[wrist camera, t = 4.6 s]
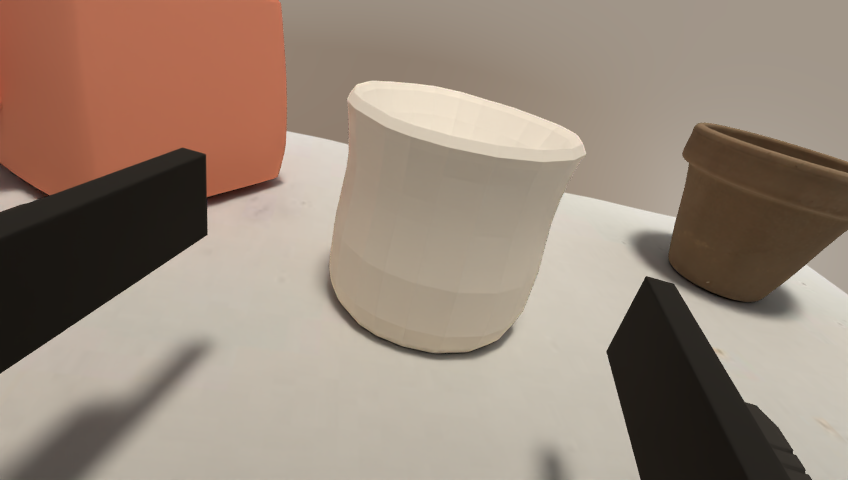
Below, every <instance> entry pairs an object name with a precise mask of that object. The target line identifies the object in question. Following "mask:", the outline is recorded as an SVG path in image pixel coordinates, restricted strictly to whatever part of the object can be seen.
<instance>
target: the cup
mask: <svg viewBox="0 0 848 480" xmlns="http://www.w3.org/2000/svg"><path fill="white" fill-rule="evenodd" d="M347 104H348V126H349V128H348V130H349V154H348V162H347V168H346V172H345V177H344V181H343V186H342V190H341V195H340V199H339V203H338V207H337V212H336V217H335V223H334V231H333V238H332V246H331V254H330V262H329V270H330V277H331V283H332V286H333V288H334V290H335V293H336V295H337V298H338V299H339V301H340V303H341V304H342V305H343V307H344V308H345V309H346V310H347V311H348V312H349V313H350V315H351V316H352V317H353V318H354V319H355V320H356V321H357V323H358V324H359V325H361V326H362V327H364V328H365V329H367V330H368V331H370V332H371V333H373V334H374V335H376V336H378V337H381V338H383V339H386V340H388V341H390V342H393V343H395V344H398V345H400V346H403V347H408V348H412V349H417V350H421V351H426V352H430V353H459V352H470V351H472V350H475V349H477V348H480V347H483V346H485V345H488V344H490V343H492V342H495V341H497V340H499V339H500V338H501V336H502V335H503V334H504V333H505V332H506V331H507V330H508V329H509V328H510V327H511V325H512V324H513V323H514V322H515V321H516V319H517V318H518V317H519V316H520V314H521V313H522V312H523V310H524V308H525V305H526V303H527V300H528V297H529V295H530V292H531V290H532V287H533V285H534V282H535V279H536V277H537V274H538V272H539V268H540V264H541V260H542V256H543V252H544V249H545V245H546V241H547V238H548V234H549V230H550V227H551V223H552V220H553V218H554V215H555V212H556V210H557V207H558V205H559V202H560V200H561V198H562V195H563V193H564V191H565V189H566V187H567V185H568V183H569V181H570V179H571V177H572V175H573V173H574V172H575V170H576V168H577V167H578V165H579V163H580V162H581V160H582V159H583V158H584V156H585V155H586V151H585V148H584V145H583V143H582V141H581V140H580V138H579V137H578V135H577V134H575V133H573V132H572V131H570V130H568V129H566V128H564V127H562V126H560V125H558V124H555V123H553V122H550V121H548V120H545V119H543V118H540V117H538V116H535V115H532V114H530V113H527V112H524V111H521V110H519V109H516V108H513V107H510V106H506V105H503V104H500V103H496V102H493V101H489V100H486V99H483V98H479V97H476V96H473V95H470V94H466V93H463V92H459V91H455V90H450V89H446V88H441V87H437V86H430V85H422V84H413V83H402V82H388V81H368V82H364V83H360V84H357V85H356V86H355V87H354V89H352V91H351V92H350V94H349V96H348V98H347Z"/></svg>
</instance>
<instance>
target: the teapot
mask: <svg viewBox="0 0 848 480" xmlns="http://www.w3.org/2000/svg"><path fill="white" fill-rule="evenodd" d="M285 65H286V64H285V50H284V35H283V22H282V10H281V3H280V2H279V0H0V163H1V164H2V165H3V166H5V167H6V168H7V169H9V170H10V171H11V172H13V173H14V174H15V175H17V176H18V177H20V178H21V179H23V180H24V181H26V182H28V183H29V184H31V185H33V186H34V187H36V188H38V189H39V190H41V191H43V192H45V193H46V194H48V195H53V194H55V193H58V192H61V191H64V190H66V189H69V188H72V187H75V186H77V185H80V184H83V183H86V182H88V181H91V180H94V179H97V178H100V177H102V176H105V175H108V174H111V173H113V172H116V171H119V170H122V169H124V168H127V167H130V166H133V165H135V164H138V163H141V162H144V161H147V160H149V159H152V158H155V157H158V156H160V155H163V154H166V153H169V152H171V151H174V150H177V149H180V148H186V149H190V150H193V151H197V152H200V153H204V154H206V179H207V197H209V196H213V195H216V194H220V193H224V192H228V191H231V190H235V189H239V188H242V187H246V186H250V185H254V184H257V183H261V182H264V181H267V180H271V179H274V178H276V177H278V174H279V171H280V168H281V164H282V160H283V156H284V152H285V145H286V125H287V91H286V90H287V88H286V66H285Z"/></svg>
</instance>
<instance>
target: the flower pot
mask: <svg viewBox="0 0 848 480" xmlns="http://www.w3.org/2000/svg"><path fill="white" fill-rule="evenodd" d="M682 154H683V157H684V159H685V160H686V161H687V162H689V167H688V173H687V178H686V184H685V188H684V192H683V196H682V199H681V203H680V207H679V211H678V214H677V218H676V222H675V226H674V230H673V235H672V239H671V244H670V249H669V254H668V258H669V261H670V263H671V265H672V266H673V267H674V268H675V270H676V271H677V272H678V273H680V274H681V275H682V276H683V277H685V278H686V279H688V280H689V281H691V282H692V283H694V284H696V285H698V286H699V287H701V288H704V289H706V290H708V291H710V292H712V293H715V294H717V295H720V296H723V297H726V298H729V299H733V300H737V301H744V302H755V301H759V300H761V299H762V298H764V297H765V296H767V295H768V294H769V293H771V292H772V291H773V290H775V289H776V288H777V287H779V286H780V285H781V284H783V283H784V282H785V281H786V280H788V279H789V278H790V277H791V276H793V275H794V274H795V273H796V272H798V271H799V270H800V269H801V268H802V267H803V266H805V265H806V264H807V263H808V262H809V261H810V260H812V259H813V258H814V257H815V256H816V255H817V254H819V253H820V252H821V251H822V250H823V249H824V248H826V247H827V246H828V245H829V244H831V243H832V242H833V241H834V240H835V239H837V238H838V237H839V236H840V235H842V234H843V233H844V232H846V231H847V230H848V162H846V161H843V160H841V159H837V158H834V157H832V156H828V155H825V154H822V153H819V152H816V151H813V150H810V149H806V148H803V147H800V146H797V145H793V144H790V143H787V142H783V141H780V140H777V139H773V138H769V137H765V136H762V135H759V134H755V133H751V132H747V131H743V130H739V129H735V128H730V127H726V126H722V125H717V124H711V123H698V124H697V125H696V126H695V127H694V129H693V132H692V134H691V136H690V138H689V140H688V142H687V144H686V146H685V148H684V151H683V153H682Z"/></svg>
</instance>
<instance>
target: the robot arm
mask: <svg viewBox="0 0 848 480" xmlns="http://www.w3.org/2000/svg"><path fill="white" fill-rule="evenodd" d="M206 235H207V179H206V154H204V153H200V152H197V151H193V150H190V149H186V148H180V149H177V150H174V151H171V152H169V153H166V154H163V155H160V156H158V157H155V158H152V159H149V160H147V161H144V162H141V163H138V164H135V165H133V166H130V167H127V168H124V169H122V170H119V171H116V172H113V173H111V174H108V175H105V176H102V177H100V178H97V179H94V180H91V181H88V182H86V183H83V184H80V185H77V186H75V187H72V188H69V189H66V190H64V191H61V192H58V193H55V194H53V195H50V196H47V197H44V198H42V199H39V200H36V201H33V202H30V203H27V204H22V205H19V206H16V207H13V208H10V209H8V210H5V211H2V212H0V373H2V372H3V371H5V370H6V369H8V368H9V367H11V366H12V365H14V364H15V363H17V362H18V361H20V360H21V359H23V358H24V357H26V356H27V355H29V354H30V353H32V352H33V351H35V350H36V349H38V348H39V347H41V346H42V345H44V344H45V343H47V342H48V341H50V340H51V339H53V338H54V337H56V336H57V335H59V334H60V333H61V332H63V331H64V330H66V329H67V328H69V327H70V326H72V325H73V324H75V323H76V322H78V321H79V320H81V319H82V318H84V317H85V316H87V315H88V314H90V313H91V312H93V311H94V310H96V309H97V308H99V307H100V306H102V305H103V304H105V303H106V302H108V301H109V300H111V299H112V298H114V297H115V296H117V295H118V294H120V293H121V292H123V291H124V290H126V289H127V288H129V287H130V286H132V285H133V284H135V283H136V282H138V281H139V280H141V279H142V278H144V277H145V276H147V275H148V274H150V273H151V272H152V271H154V270H155V269H157V268H158V267H160V266H161V265H163V264H164V263H166V262H167V261H169V260H170V259H172V258H173V257H175V256H176V255H178V254H179V253H181V252H182V251H184V250H185V249H187V248H188V247H190V246H191V245H193V244H194V243H196V242H197V241H199V240H200V239H202V238H203V237H205V236H206ZM607 355H608V359H609V363H610V366H611V370H612V374H613V378H614V381H615V385H616V389H617V392H618V396H619V400H620V404H621V407H622V411H623V415H624V419H625V422H626V426H627V430H628V434H629V437H630V441H631V445H632V449H633V452H634V456H635V460H636V464H637V467H638V471H639V475H640V479H641V480H812V479H811V477H810V476H809V475H807V474H805V468H804V467H803V465H802V463H801V462H800V460H799V459H798V457H797V456H796V455H794V454H793V449H792V448H791V446H790V445H789V443H788V442H787V440H786V439H785V437H784V435H783V434H782V432H781V431H780V429H779V428H778V427H777V426H776V425H775V424H774V423H773V422H772V421H771V420H770V419H769V418H768V417H767V416H766V415H765V414H764V413H763V412H762V411H761V410H760V409H759V408H758V407H757V406H756V405H753V404H749V403H746V402H744V400H743V399H742V397H741V395H740V394H739V392H738V390H737V389H736V387H735V385H734V384H733V382H732V380H731V379H730V377H729V375H728V374H727V372H726V370H725V369H724V367H723V365H722V364H721V362H720V360H719V359H718V357H717V355H716V354H715V352H714V350H713V348H712V347H711V345H710V343H709V342H708V340H707V338H706V337H705V335H704V333H703V332H702V330H701V328H700V327H699V325H698V323H697V322H696V320H695V318H694V317H693V315H692V313H691V312H690V310H689V308H688V307H687V305H686V303H685V302H684V300H683V298H682V297H681V295H680V293H679V292H678V290H677V288H676V287H675V285H674V284H672V283H669V282H665V281H661V280H658V279H654V278H651V277H647V276H646V277H645V279H644V281H643V283H642V285H641V287H640V289H639V291H638V292H637V294H636V296H635V298H634V300H633V302H632V304H631V306H630V308H629V310H628V311H627V313H626V315H625V317H624V319H623V321H622V323H621V325H620V327H619V328H618V330H617V332H616V334H615V336H614V338H613V340H612V342H611V344H610V346H609V347H608V349H607Z"/></svg>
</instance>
